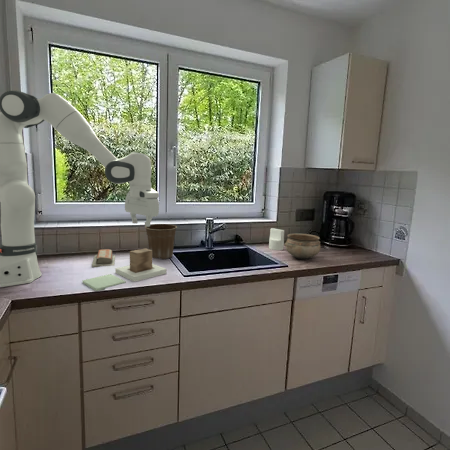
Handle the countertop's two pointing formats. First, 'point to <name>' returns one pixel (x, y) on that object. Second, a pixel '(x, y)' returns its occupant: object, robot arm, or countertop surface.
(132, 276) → the pocket plate
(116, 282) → the green pad
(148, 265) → the walnut block
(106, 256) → the packaged product
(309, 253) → the cooking pot
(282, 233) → the base with upright slab
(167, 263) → the countertop surface
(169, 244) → the plant pot
